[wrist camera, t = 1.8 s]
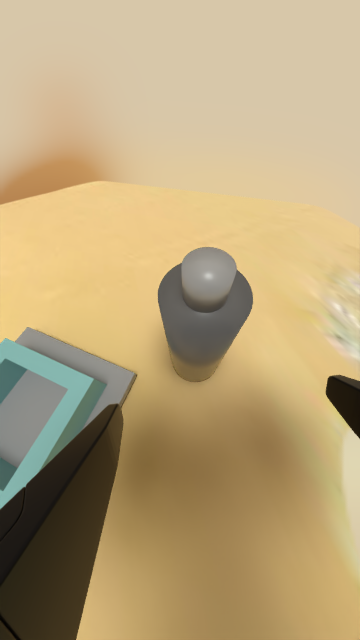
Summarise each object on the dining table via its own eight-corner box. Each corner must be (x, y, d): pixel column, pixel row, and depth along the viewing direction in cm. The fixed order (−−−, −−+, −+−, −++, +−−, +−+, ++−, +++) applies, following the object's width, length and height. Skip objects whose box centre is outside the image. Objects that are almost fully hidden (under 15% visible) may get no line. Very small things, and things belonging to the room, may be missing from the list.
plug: (209, 389, 19) (253, 335, 7) (164, 370, 20) (131, 293, 8) (223, 345, 21) (276, 243, 9) (182, 330, 22) (178, 219, 10)
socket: (47, 553, 14) (1, 598, 11) (-78, 464, 17) (-147, 476, 13) (136, 375, 20) (126, 365, 16) (33, 330, 23) (5, 314, 19)
